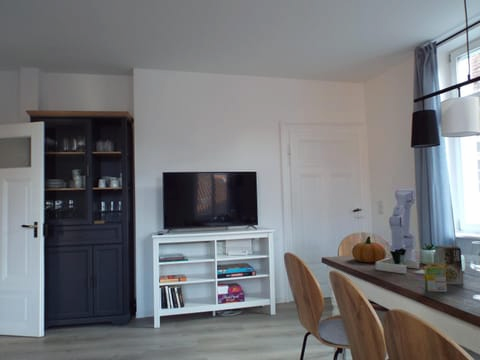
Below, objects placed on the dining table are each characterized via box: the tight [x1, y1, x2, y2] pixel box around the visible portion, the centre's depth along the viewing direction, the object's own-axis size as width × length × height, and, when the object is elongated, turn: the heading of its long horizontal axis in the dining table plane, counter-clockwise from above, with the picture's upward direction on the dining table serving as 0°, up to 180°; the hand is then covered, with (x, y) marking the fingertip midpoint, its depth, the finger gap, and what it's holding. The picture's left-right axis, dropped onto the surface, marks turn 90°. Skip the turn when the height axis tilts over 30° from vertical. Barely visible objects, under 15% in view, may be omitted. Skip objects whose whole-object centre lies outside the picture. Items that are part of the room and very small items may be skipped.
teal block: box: [391, 255, 405, 265], centre depth 180 cm, size 4×5×6 cm
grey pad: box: [413, 269, 425, 276], centre depth 169 cm, size 9×9×1 cm
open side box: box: [375, 257, 420, 274], centre depth 181 cm, size 18×16×4 cm
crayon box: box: [423, 262, 448, 293], centre depth 138 cm, size 7×3×12 cm, turn 78°
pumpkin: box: [351, 236, 387, 264], centre depth 205 cm, size 19×19×15 cm
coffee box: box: [434, 245, 464, 286], centre depth 150 cm, size 9×6×16 cm
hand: (398, 263), depth 180 cm, fingers closed on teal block, 4 cm apart
